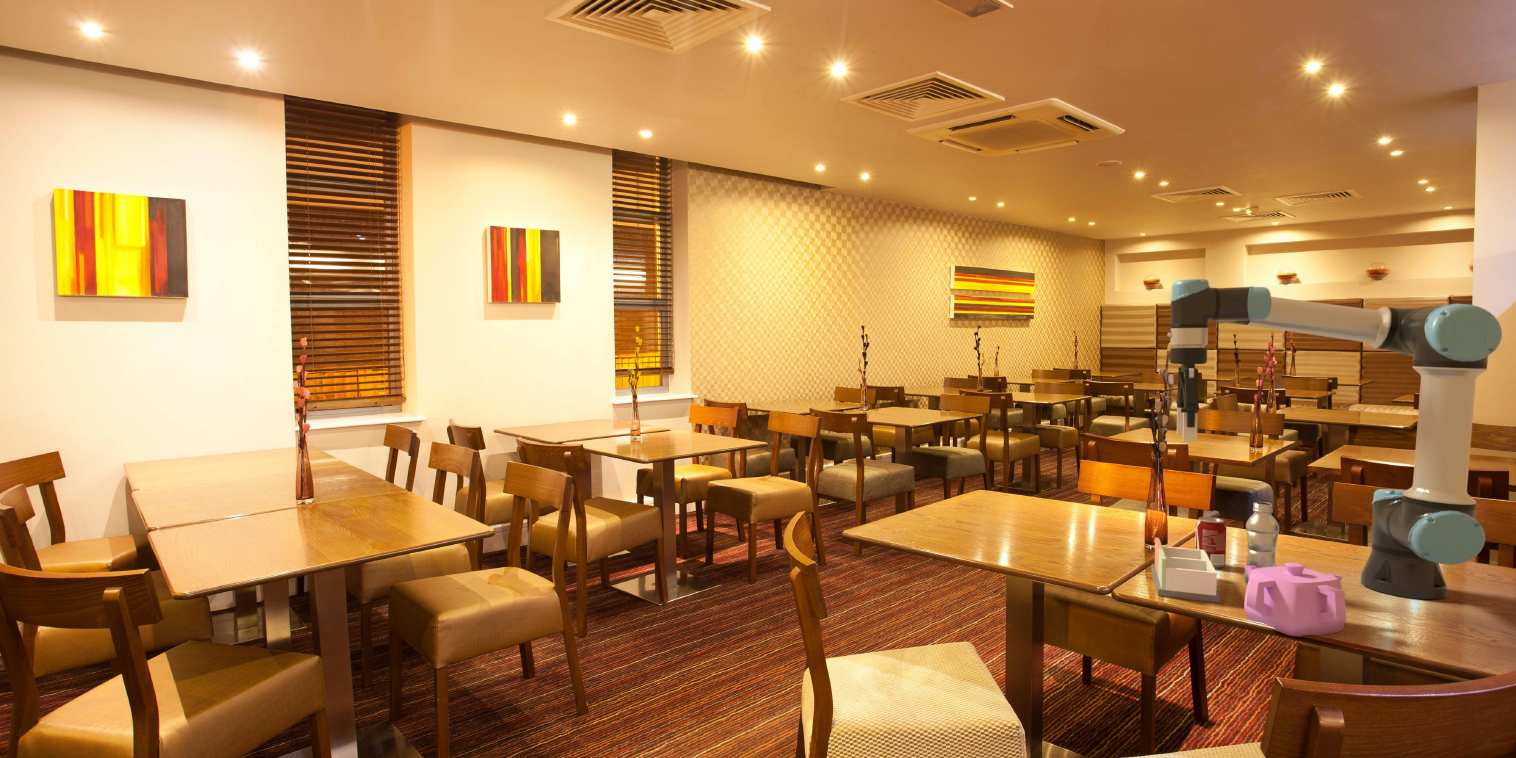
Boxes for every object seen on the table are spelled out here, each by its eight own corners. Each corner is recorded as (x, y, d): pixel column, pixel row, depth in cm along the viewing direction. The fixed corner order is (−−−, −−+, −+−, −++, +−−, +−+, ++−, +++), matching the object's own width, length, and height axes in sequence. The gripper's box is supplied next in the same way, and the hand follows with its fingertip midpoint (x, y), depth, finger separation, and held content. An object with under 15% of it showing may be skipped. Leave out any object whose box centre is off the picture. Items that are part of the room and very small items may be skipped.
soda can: (1229, 570, 190) (1231, 522, 190) (1200, 568, 192) (1201, 521, 191) (1219, 562, 197) (1220, 516, 196) (1190, 561, 198) (1191, 515, 198)
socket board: (1206, 576, 185) (1207, 542, 185) (1219, 602, 166) (1220, 564, 166) (1151, 570, 190) (1152, 537, 190) (1157, 595, 171) (1158, 558, 171)
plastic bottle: (1236, 586, 178) (1238, 501, 177) (1258, 583, 180) (1260, 499, 179) (1262, 595, 171) (1264, 507, 170) (1284, 592, 173) (1287, 505, 172)
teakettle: (1245, 629, 151) (1247, 568, 150) (1242, 604, 166) (1243, 548, 165) (1353, 647, 142) (1355, 581, 142) (1339, 618, 157) (1341, 559, 156)
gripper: (1165, 346, 189) (1163, 431, 190) (1175, 347, 166) (1173, 443, 167) (1200, 346, 186) (1198, 433, 187) (1215, 347, 163) (1212, 445, 164)
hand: (1186, 438), depth 177 cm, fingers open, 13 cm apart
